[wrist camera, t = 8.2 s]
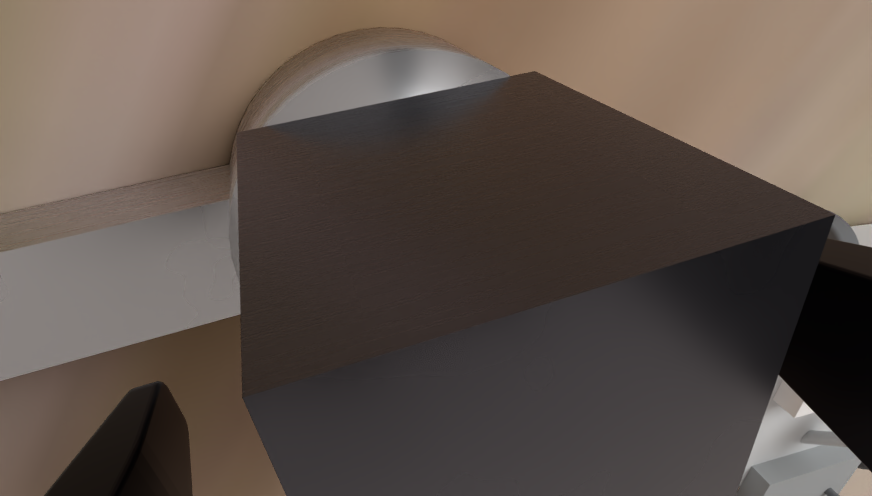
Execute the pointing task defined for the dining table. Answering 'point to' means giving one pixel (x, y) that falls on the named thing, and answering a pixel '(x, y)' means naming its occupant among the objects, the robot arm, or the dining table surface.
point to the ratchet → (185, 214)
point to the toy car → (801, 432)
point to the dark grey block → (510, 298)
